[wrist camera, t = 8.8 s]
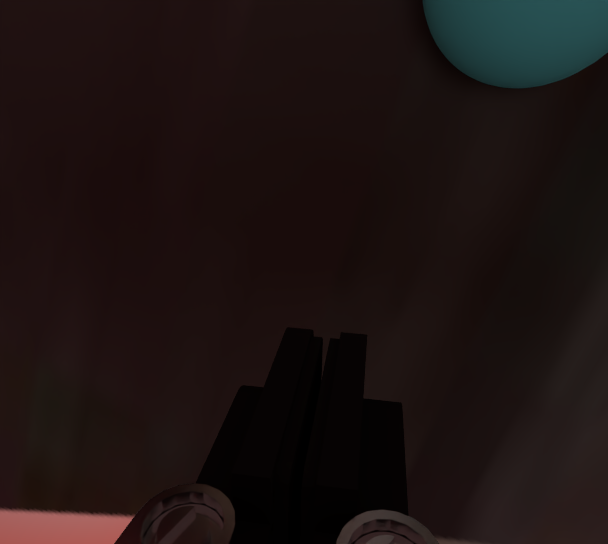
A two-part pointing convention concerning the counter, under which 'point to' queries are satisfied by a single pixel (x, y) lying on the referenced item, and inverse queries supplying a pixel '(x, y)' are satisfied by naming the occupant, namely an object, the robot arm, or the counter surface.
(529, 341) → the counter surface
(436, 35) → the ball
